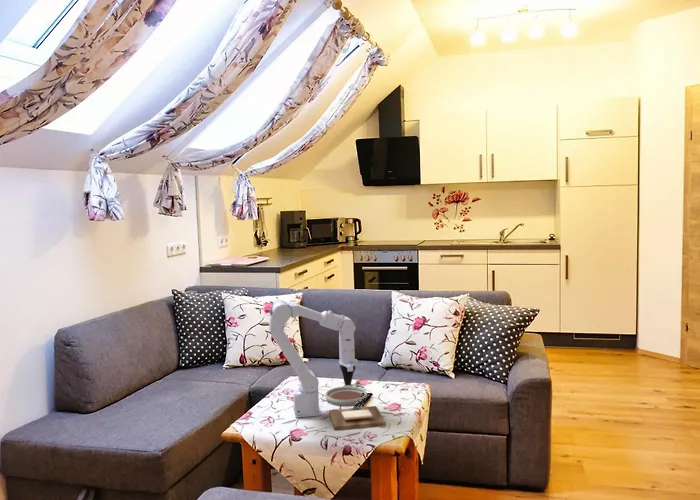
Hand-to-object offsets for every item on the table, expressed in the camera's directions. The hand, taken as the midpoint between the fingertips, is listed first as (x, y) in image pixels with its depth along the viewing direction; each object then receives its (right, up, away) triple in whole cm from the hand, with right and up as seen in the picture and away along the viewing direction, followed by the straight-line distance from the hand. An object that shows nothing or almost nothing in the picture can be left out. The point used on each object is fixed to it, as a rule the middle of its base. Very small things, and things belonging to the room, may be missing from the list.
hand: (347, 384), depth 230 cm
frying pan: (+1, -8, +17) cm, 19 cm away
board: (+3, -10, -10) cm, 15 cm away
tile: (+3, -8, -11) cm, 14 cm away
